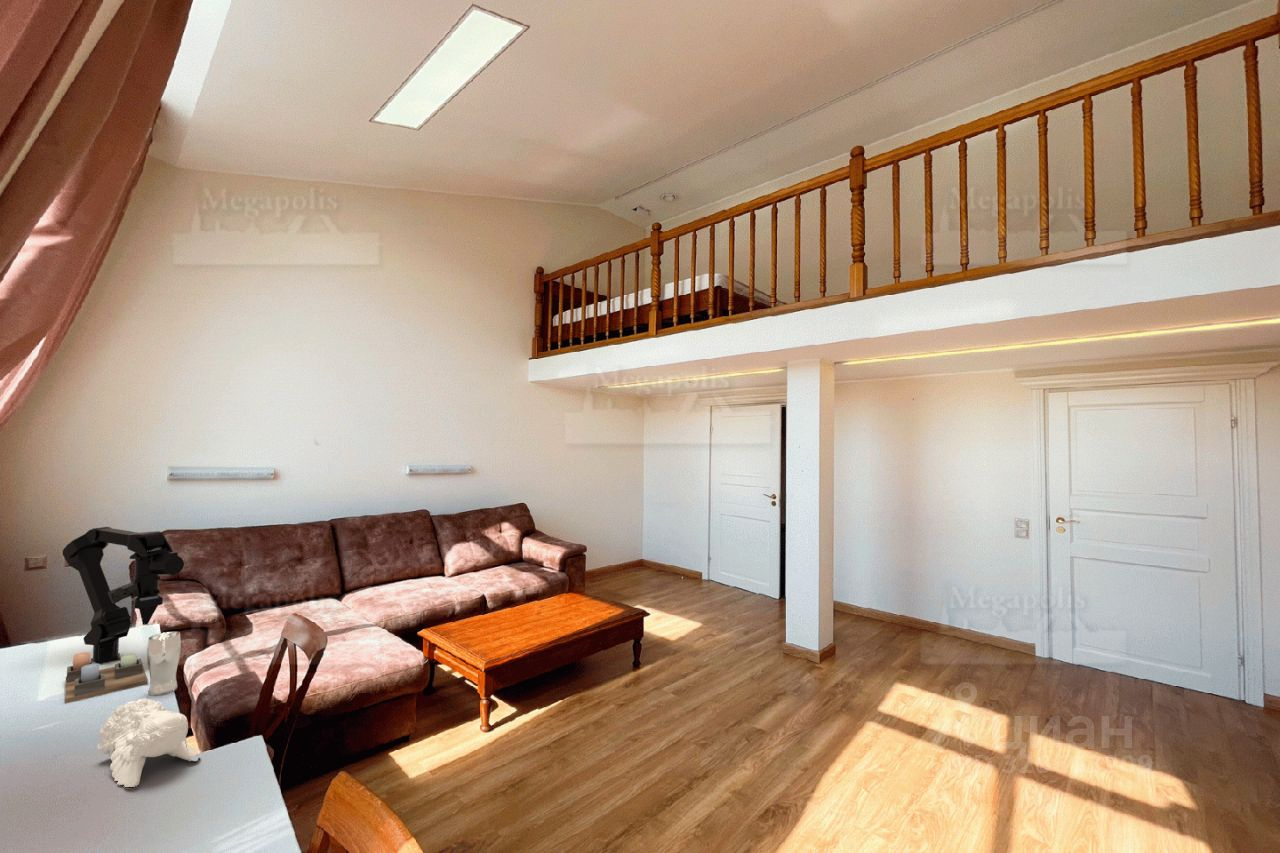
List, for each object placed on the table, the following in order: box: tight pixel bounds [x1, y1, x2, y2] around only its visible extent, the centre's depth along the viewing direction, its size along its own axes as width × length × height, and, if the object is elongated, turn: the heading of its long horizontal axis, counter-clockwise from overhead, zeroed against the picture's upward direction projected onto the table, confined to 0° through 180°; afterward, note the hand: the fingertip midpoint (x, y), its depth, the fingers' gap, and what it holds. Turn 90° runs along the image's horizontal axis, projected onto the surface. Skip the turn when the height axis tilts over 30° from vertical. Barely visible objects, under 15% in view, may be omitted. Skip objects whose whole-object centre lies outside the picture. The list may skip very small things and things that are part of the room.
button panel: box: [64, 658, 149, 704], centre depth 154 cm, size 19×16×4 cm
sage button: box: [120, 653, 138, 667], centre depth 157 cm, size 3×3×4 cm
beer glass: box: [146, 631, 182, 697], centre depth 149 cm, size 7×7×15 cm
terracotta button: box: [72, 651, 91, 671], centre depth 155 cm, size 3×3×4 cm
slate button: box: [81, 663, 100, 683], centre depth 147 cm, size 3×3×4 cm
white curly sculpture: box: [96, 697, 200, 788], centre depth 116 cm, size 13×12×20 cm
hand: (145, 624), depth 167 cm, fingers closed
